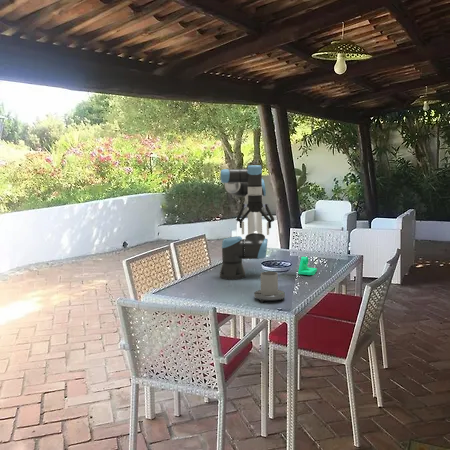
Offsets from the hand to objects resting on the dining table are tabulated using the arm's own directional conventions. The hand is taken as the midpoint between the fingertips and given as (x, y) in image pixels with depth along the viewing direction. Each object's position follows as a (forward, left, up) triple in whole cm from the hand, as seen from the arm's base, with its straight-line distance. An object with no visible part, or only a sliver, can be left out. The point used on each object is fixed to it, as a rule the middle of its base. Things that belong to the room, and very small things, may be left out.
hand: (255, 234), depth 263 cm
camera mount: (+25, +34, -29) cm, 51 cm away
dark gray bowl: (+11, -22, -29) cm, 38 cm away
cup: (+11, -22, -26) cm, 36 cm away
